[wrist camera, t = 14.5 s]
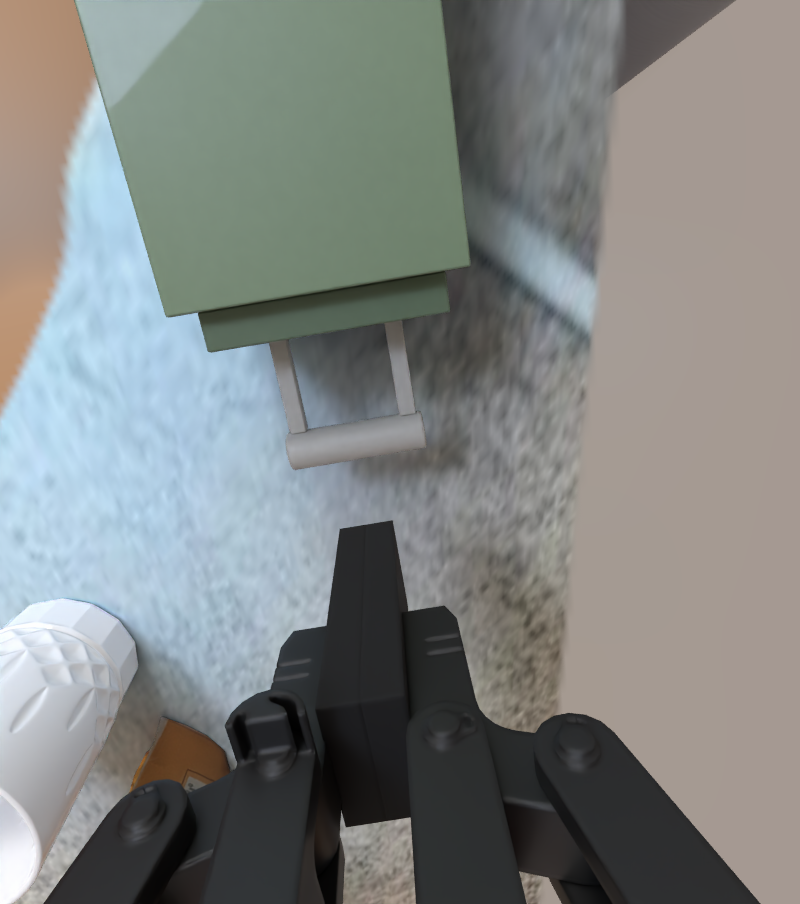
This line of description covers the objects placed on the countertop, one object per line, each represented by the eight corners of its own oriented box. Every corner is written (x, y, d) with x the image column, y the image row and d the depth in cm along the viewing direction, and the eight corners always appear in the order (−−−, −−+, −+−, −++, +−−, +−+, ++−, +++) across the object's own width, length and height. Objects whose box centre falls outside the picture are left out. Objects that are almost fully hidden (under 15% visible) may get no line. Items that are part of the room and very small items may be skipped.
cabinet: (435, 270, 23) (471, 266, 15) (237, 303, 23) (165, 318, 15) (377, -173, 18) (383, -530, 10) (130, -131, 18) (-60, -456, 10)
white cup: (120, 573, 27) (-18, 736, 17) (171, 697, 29) (75, 901, 20) (-35, 603, 27) (-257, 783, 17) (29, 725, 29) (-135, 942, 20)
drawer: (443, 413, 24) (469, 463, 18) (280, 441, 24) (247, 501, 18) (371, -103, 18) (372, -310, 12) (157, -68, 18) (42, -255, 12)
